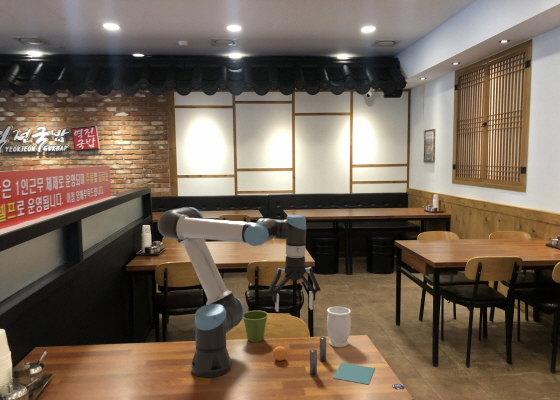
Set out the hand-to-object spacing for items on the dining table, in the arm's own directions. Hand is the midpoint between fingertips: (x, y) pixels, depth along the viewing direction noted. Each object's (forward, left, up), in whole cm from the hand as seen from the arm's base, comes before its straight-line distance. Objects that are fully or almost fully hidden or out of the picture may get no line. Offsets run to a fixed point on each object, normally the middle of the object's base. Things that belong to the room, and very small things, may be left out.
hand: (293, 309), depth 165 cm
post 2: (+10, +8, -22) cm, 25 cm away
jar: (+12, +25, -22) cm, 36 cm away
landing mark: (+24, +1, -22) cm, 32 cm away
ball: (-6, +1, -19) cm, 20 cm away
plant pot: (-24, +16, -22) cm, 37 cm away
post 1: (+10, -5, -22) cm, 24 cm away
